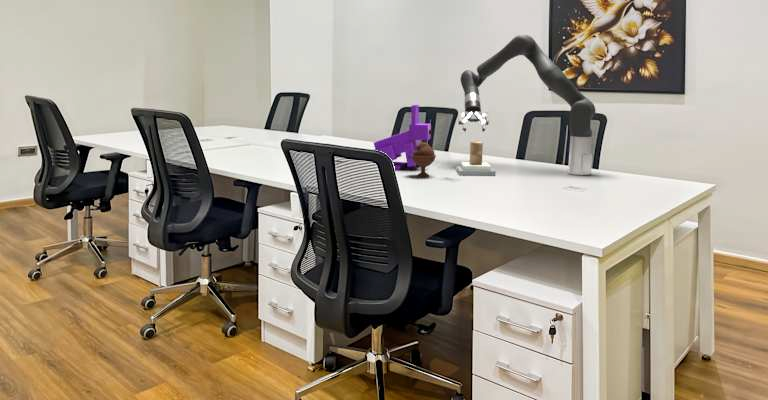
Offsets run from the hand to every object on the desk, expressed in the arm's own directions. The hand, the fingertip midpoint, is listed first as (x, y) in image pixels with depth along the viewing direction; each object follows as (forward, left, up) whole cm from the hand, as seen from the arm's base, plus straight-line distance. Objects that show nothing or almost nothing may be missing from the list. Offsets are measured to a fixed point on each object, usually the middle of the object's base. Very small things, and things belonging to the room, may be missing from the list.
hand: (474, 130), depth 298 cm
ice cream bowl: (-2, +32, -19) cm, 37 cm away
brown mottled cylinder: (-8, +5, -15) cm, 17 cm away
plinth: (-8, +6, -19) cm, 21 cm away
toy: (+23, +25, -19) cm, 39 cm away
